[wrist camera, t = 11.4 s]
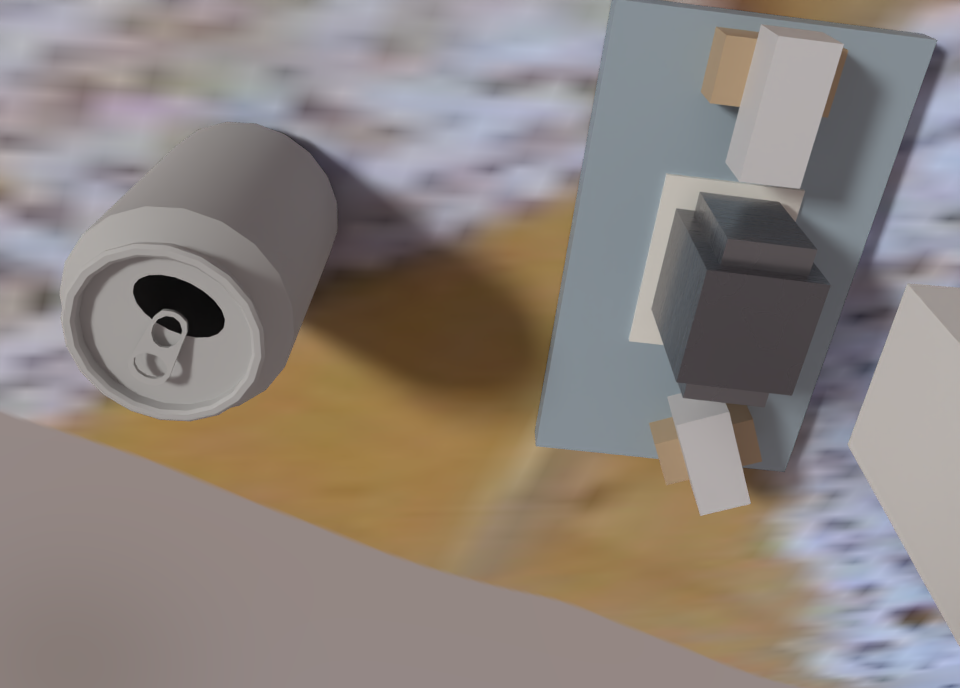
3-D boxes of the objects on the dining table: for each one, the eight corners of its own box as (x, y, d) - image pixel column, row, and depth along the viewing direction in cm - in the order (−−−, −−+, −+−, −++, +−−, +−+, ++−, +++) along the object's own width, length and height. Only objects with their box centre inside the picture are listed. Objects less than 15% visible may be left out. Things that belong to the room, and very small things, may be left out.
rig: (613, -6, 34) (631, 17, 29) (923, 34, 34) (988, 62, 30) (534, 435, 43) (538, 502, 39) (776, 460, 44) (808, 530, 39)
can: (372, 173, 37) (324, 302, 27) (297, 312, 40) (228, 476, 30) (202, 80, 35) (79, 180, 25) (138, 233, 39) (6, 379, 28)
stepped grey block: (745, 341, 39) (784, 417, 34) (646, 329, 39) (670, 404, 34) (789, 198, 36) (839, 258, 31) (681, 184, 36) (714, 243, 30)
